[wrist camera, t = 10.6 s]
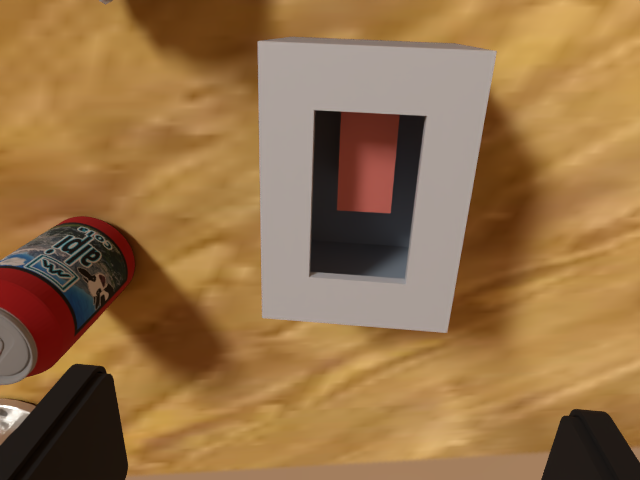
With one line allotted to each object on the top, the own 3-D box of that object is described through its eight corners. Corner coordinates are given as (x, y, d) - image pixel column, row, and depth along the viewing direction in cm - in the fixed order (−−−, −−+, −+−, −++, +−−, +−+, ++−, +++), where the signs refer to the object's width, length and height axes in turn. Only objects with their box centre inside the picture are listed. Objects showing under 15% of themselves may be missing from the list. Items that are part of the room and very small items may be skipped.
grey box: (425, 252, 34) (447, 332, 25) (289, 242, 35) (262, 317, 26) (455, 43, 29) (496, 51, 20) (291, 36, 29) (257, 41, 20)
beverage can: (153, 243, 36) (62, 336, 25) (120, 304, 39) (24, 413, 28) (72, 195, 35) (-60, 270, 24) (43, 261, 38) (-88, 357, 27)
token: (390, 213, 27) (400, 102, 24) (336, 210, 27) (341, 100, 24) (386, 181, 32) (394, 88, 30) (341, 179, 32) (346, 86, 30)
